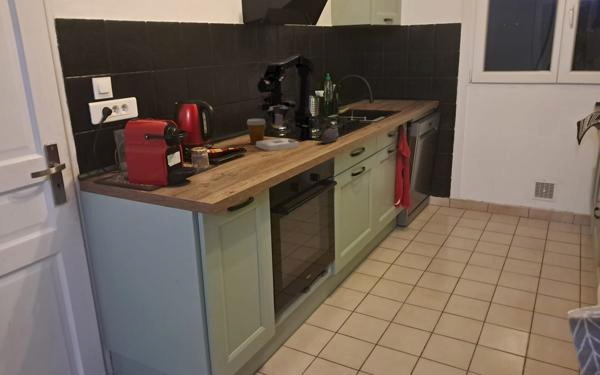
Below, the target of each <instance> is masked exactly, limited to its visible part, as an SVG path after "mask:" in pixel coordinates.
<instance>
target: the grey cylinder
mask: <svg viewBox="0 0 600 375" xmlns="http://www.w3.org/2000/svg"><path fill="white" fill-rule="evenodd" d="M283 125H284V120H283V115H282V114H280V113H275V122H274V124H272V123H271V126H272V128H276V129H277V128H282V127H283Z"/></svg>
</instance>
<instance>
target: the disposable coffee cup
mask: <svg viewBox="0 0 600 375" xmlns="http://www.w3.org/2000/svg"><path fill="white" fill-rule="evenodd" d="M246 125H247V129H248V135H249V140H250V144H251V145H254V146H256V141H264V139H265V137H264V136H265V128H266V127H265V126H266V119H264V118H249V119H247V121H246Z"/></svg>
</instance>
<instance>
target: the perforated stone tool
mask: <svg viewBox="0 0 600 375" xmlns="http://www.w3.org/2000/svg"><path fill="white" fill-rule="evenodd" d="M339 135H340V134H339V128H338V127H337V126H334V127H333V126H332V127H330V128H326V130H324V131H323V132H322V134H321V136H320V137H321V138H320V140H321V142H322V143H323V144H329V143H330V142H331V143H334V142H335V141H337V140H338V138H339Z"/></svg>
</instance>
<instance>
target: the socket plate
mask: <svg viewBox="0 0 600 375" xmlns="http://www.w3.org/2000/svg"><path fill="white" fill-rule="evenodd" d="M255 146H256V147H257V148H260V149H263V150H265V151H268V152H274V151H280V150H287V149H295V148H300V142H299V141H297V140H295V139H290V138H286V137H282V138H275V139H267V140H266V139H265V140H263V141H256V145H255Z"/></svg>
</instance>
